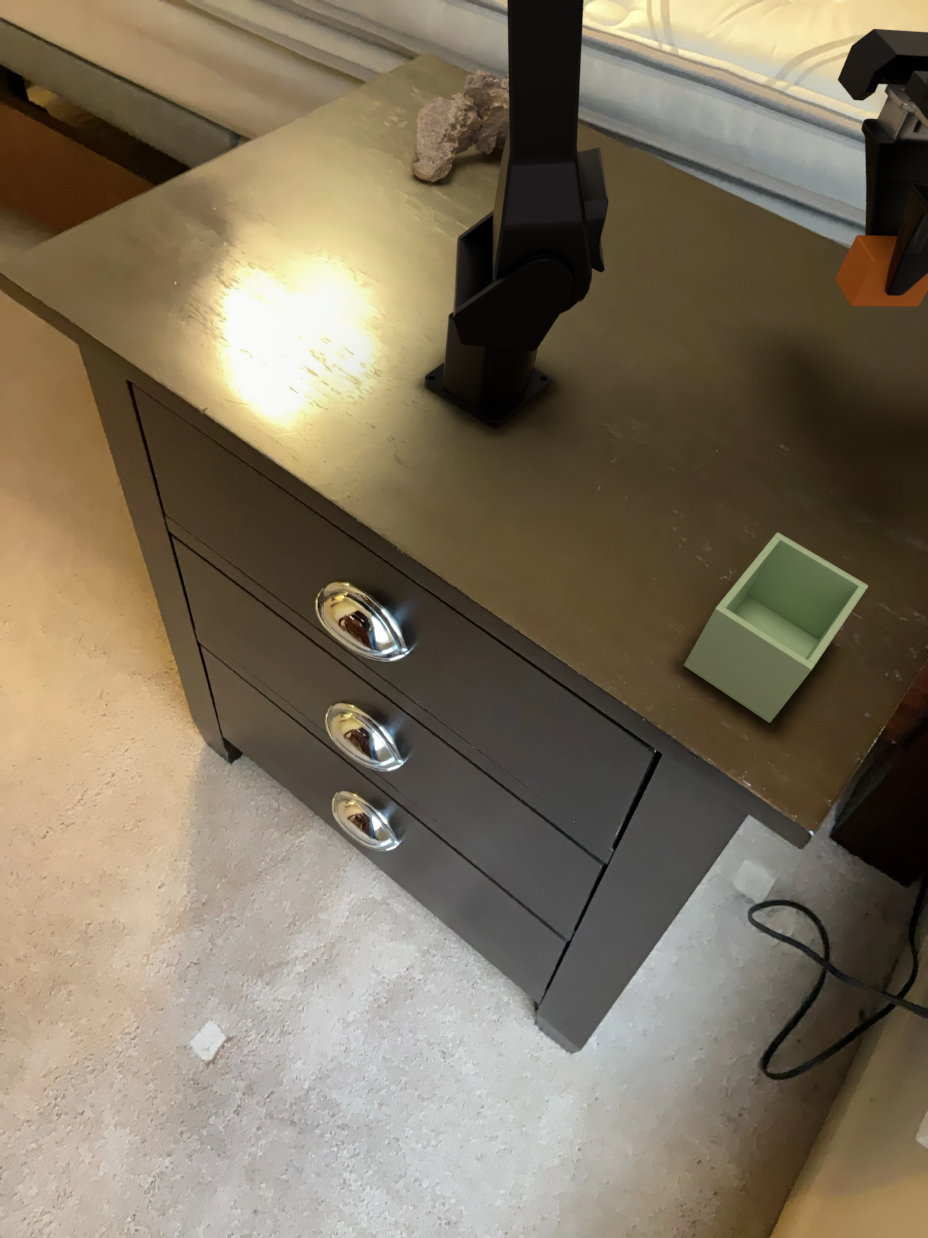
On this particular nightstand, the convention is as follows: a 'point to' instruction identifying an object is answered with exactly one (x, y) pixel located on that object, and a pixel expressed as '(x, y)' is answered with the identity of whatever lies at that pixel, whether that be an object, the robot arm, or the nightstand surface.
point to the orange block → (874, 274)
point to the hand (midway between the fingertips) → (883, 278)
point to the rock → (461, 124)
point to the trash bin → (774, 626)
